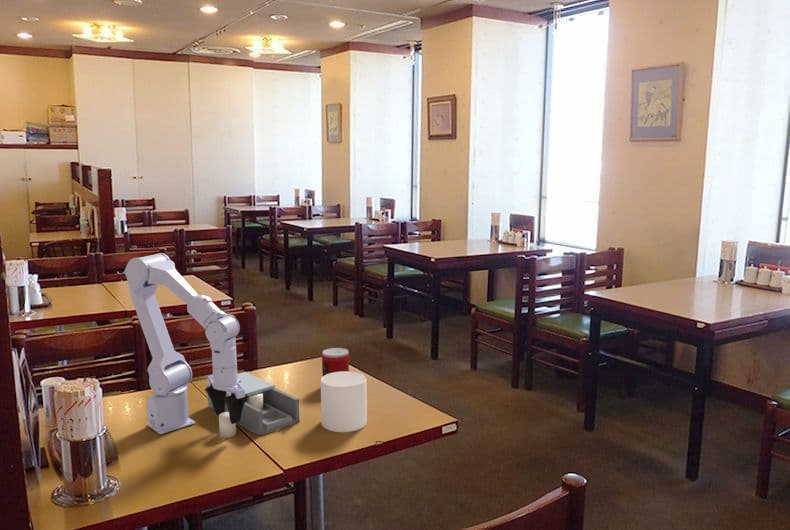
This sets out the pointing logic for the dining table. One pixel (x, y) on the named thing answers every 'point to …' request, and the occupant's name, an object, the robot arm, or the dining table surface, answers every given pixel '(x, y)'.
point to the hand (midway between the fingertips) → (227, 418)
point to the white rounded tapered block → (256, 400)
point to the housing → (269, 412)
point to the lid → (252, 384)
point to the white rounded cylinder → (226, 426)
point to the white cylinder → (343, 401)
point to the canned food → (335, 360)
